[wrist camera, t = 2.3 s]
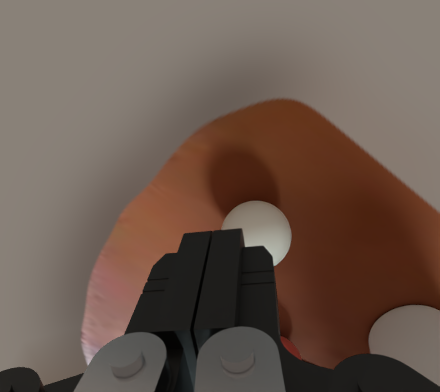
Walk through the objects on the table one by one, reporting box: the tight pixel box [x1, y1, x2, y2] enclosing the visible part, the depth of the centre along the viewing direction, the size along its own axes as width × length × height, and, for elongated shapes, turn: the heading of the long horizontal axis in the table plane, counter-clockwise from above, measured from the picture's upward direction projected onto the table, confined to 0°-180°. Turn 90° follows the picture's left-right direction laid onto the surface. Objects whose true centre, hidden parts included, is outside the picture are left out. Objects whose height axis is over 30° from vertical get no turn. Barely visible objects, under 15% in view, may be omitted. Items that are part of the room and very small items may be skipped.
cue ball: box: [221, 201, 291, 266], centre depth 30 cm, size 6×6×6 cm
